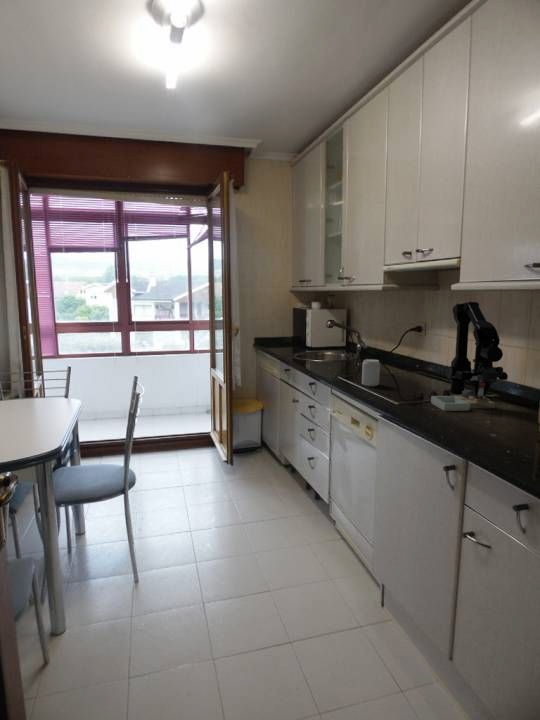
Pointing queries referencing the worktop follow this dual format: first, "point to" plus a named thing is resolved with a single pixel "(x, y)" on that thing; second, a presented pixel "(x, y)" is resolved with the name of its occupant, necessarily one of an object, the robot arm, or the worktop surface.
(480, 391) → the lock pin
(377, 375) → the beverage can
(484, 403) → the block
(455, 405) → the tray
